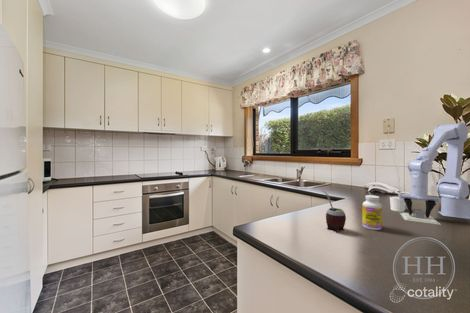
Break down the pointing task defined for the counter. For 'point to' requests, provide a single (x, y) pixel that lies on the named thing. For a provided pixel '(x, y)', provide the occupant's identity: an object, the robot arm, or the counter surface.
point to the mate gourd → (335, 218)
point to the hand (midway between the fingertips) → (418, 215)
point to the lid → (419, 216)
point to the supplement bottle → (372, 213)
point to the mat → (419, 221)
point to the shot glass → (397, 204)
